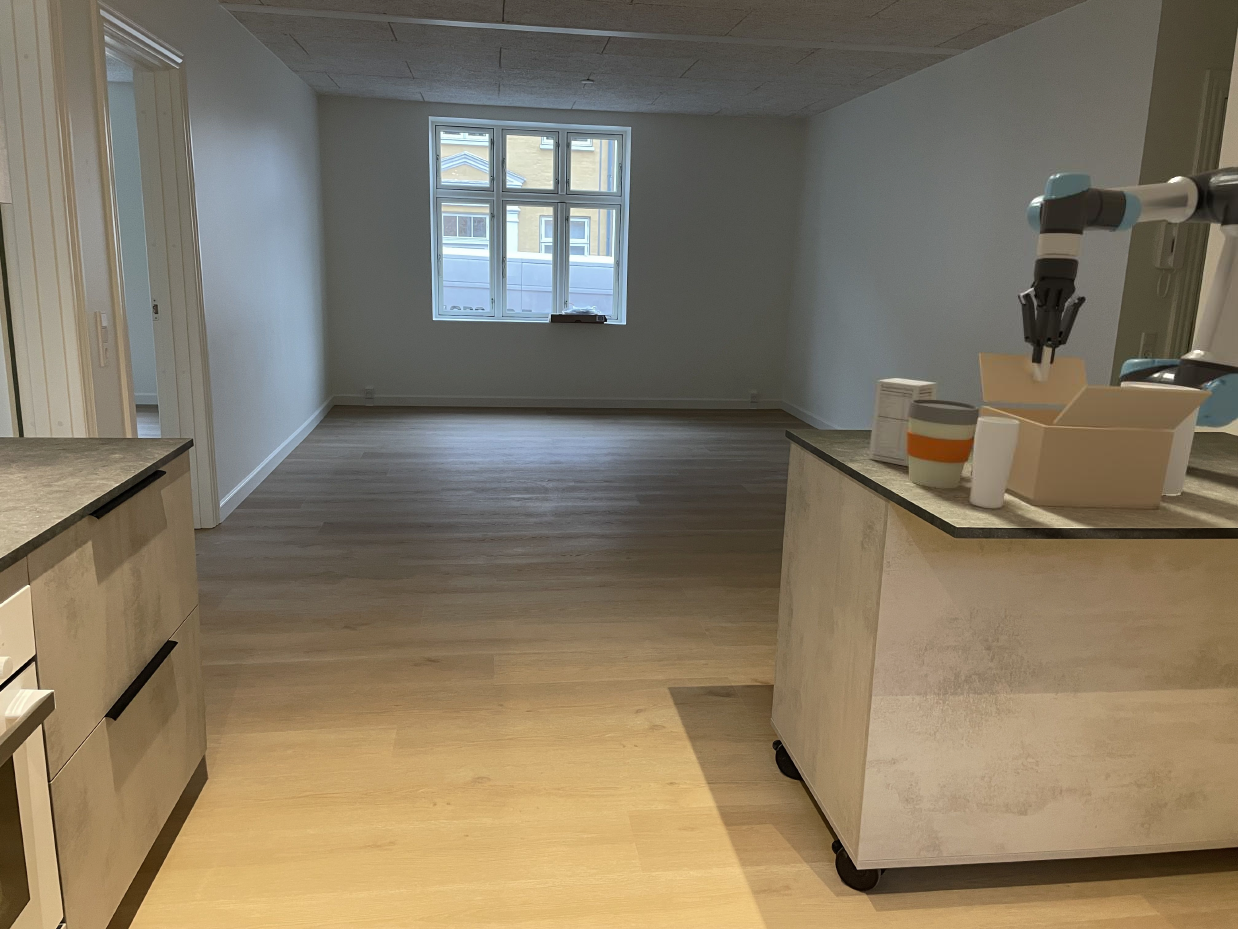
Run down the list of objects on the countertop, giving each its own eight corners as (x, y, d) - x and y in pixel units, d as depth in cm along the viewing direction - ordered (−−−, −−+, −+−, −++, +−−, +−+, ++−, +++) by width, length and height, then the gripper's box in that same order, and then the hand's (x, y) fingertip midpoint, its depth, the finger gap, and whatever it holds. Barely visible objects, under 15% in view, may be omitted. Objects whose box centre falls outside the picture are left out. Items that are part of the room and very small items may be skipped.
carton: (1083, 479, 179) (1095, 411, 176) (1158, 509, 157) (1174, 432, 154) (970, 475, 176) (981, 405, 173) (1031, 505, 155) (1044, 426, 152)
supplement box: (929, 462, 187) (940, 382, 183) (909, 467, 180) (920, 385, 176) (887, 453, 193) (896, 376, 189) (866, 458, 186) (876, 379, 183)
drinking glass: (957, 499, 156) (970, 415, 152) (994, 500, 156) (1007, 417, 153) (976, 510, 149) (989, 422, 146) (1014, 511, 150) (1028, 424, 146)
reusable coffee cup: (884, 476, 170) (894, 399, 167) (930, 472, 176) (940, 398, 173) (936, 493, 160) (948, 410, 156) (983, 488, 166) (995, 409, 162)
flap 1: (1090, 405, 176) (1088, 406, 176) (1083, 358, 178) (1082, 359, 179) (985, 400, 173) (983, 401, 174) (980, 352, 176) (978, 353, 176)
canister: (1183, 500, 166) (1205, 394, 161) (1102, 487, 172) (1121, 385, 168) (1179, 486, 177) (1199, 387, 173) (1103, 475, 184) (1121, 379, 179)
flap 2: (1210, 390, 145) (1212, 393, 145) (1172, 426, 153) (1173, 429, 153) (1085, 384, 143) (1086, 387, 142) (1053, 421, 151) (1054, 424, 151)
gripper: (1076, 260, 174) (1059, 380, 179) (1014, 256, 173) (998, 377, 177) (1101, 259, 167) (1082, 384, 171) (1036, 255, 166) (1019, 381, 170)
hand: (1039, 380), depth 174 cm, fingers closed
